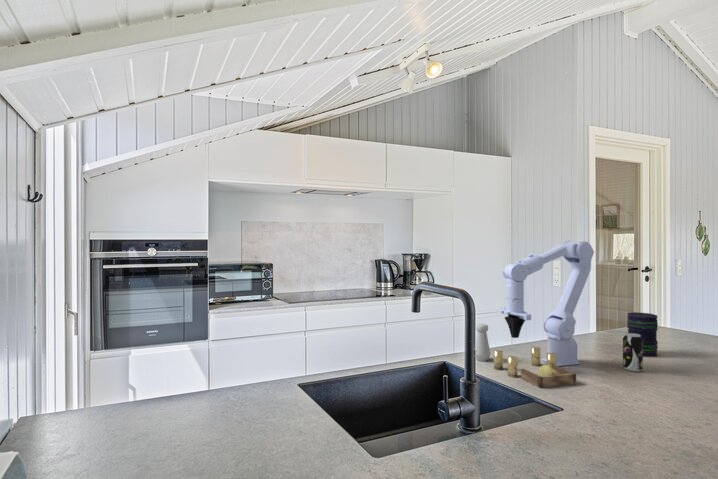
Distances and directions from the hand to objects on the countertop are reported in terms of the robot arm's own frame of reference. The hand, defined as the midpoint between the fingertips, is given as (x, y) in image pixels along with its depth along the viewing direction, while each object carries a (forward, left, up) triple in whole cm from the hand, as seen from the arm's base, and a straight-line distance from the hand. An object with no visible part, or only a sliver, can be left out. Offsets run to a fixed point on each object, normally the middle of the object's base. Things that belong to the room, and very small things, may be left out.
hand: (515, 337), depth 153 cm
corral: (0, +16, -10) cm, 19 cm away
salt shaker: (+7, -10, -10) cm, 16 cm away
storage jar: (-56, 0, -10) cm, 57 cm away
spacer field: (0, +5, -10) cm, 11 cm away
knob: (0, +17, -10) cm, 19 cm away
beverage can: (-35, +15, -10) cm, 40 cm away
